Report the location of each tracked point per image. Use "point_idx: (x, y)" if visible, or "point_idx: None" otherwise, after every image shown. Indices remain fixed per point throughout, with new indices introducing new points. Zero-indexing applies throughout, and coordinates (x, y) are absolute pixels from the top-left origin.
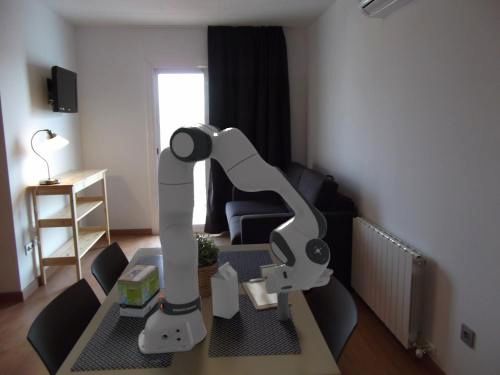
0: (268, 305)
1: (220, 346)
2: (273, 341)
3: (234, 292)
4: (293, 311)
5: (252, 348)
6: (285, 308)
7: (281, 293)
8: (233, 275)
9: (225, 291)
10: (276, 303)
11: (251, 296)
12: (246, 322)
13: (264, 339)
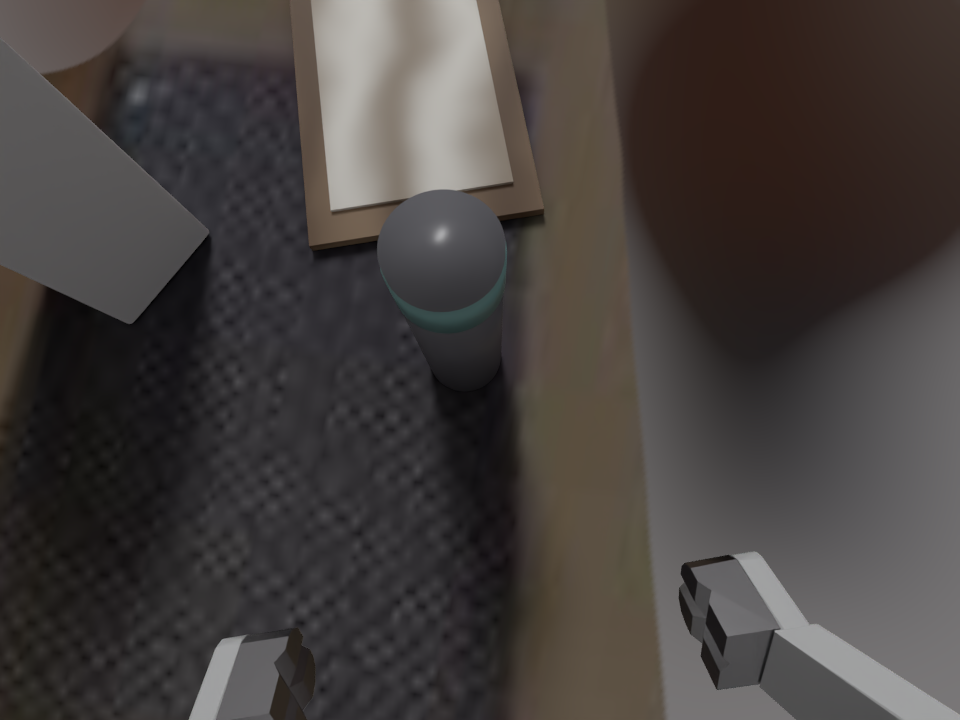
0: None
1: (9, 624)
2: (348, 624)
3: (63, 182)
4: (543, 289)
5: (199, 684)
6: (470, 369)
7: (307, 700)
8: None
9: None
10: None
11: (311, 97)
12: (227, 372)
13: (296, 589)
